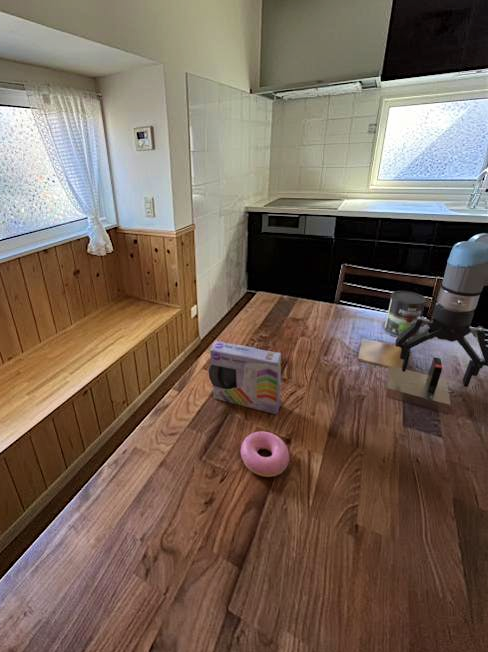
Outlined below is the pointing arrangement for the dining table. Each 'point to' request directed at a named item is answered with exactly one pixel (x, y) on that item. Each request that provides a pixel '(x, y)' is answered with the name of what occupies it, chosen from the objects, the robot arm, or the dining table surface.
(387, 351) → the plate
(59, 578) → the dining table surface
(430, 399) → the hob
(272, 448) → the doughnut
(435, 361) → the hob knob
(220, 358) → the cake pan box
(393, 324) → the coffee can
